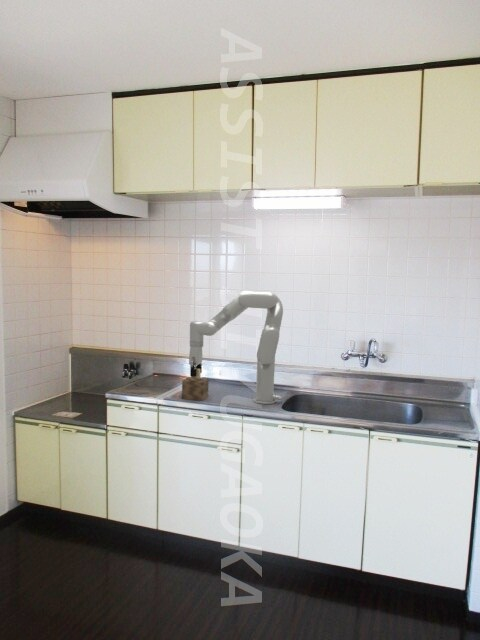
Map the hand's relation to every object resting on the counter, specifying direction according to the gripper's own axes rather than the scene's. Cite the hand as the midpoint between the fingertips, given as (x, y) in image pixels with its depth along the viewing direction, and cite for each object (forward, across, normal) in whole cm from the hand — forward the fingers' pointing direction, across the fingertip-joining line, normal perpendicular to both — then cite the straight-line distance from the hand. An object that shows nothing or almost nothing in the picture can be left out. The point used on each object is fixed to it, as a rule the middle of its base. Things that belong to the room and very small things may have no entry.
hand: (196, 374), depth 285 cm
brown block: (+13, 0, 0) cm, 13 cm away
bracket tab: (+6, 0, 0) cm, 6 cm away
